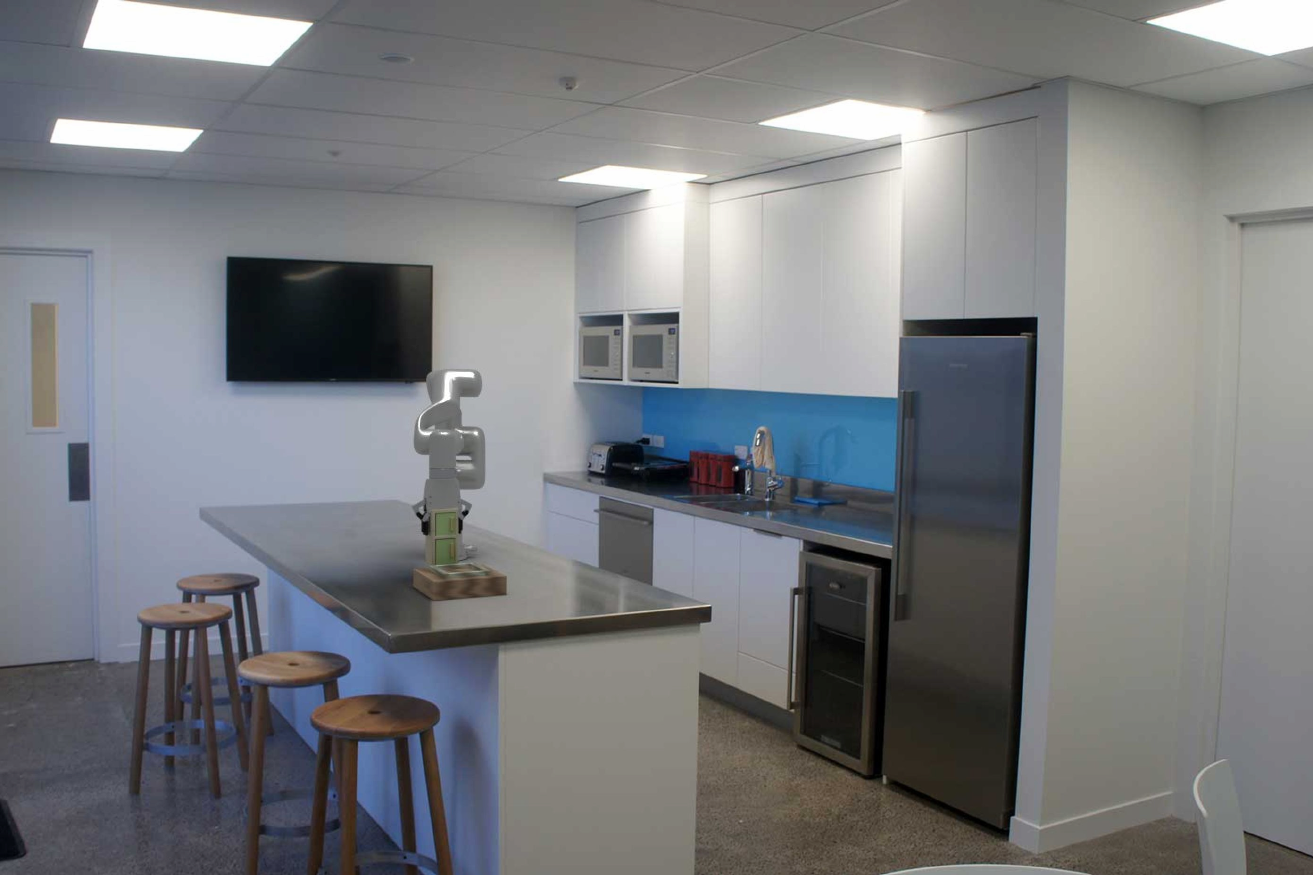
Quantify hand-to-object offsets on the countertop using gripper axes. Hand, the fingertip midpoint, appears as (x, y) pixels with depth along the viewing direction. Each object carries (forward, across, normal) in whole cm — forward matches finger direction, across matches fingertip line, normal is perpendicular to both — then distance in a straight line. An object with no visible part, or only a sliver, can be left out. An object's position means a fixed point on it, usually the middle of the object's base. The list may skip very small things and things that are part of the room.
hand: (442, 534), depth 319 cm
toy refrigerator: (+14, 0, -1) cm, 14 cm away
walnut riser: (+14, 0, +15) cm, 21 cm away
